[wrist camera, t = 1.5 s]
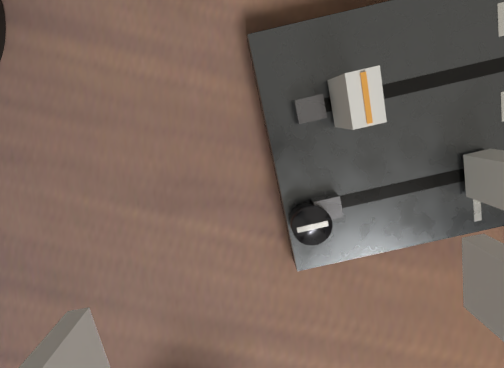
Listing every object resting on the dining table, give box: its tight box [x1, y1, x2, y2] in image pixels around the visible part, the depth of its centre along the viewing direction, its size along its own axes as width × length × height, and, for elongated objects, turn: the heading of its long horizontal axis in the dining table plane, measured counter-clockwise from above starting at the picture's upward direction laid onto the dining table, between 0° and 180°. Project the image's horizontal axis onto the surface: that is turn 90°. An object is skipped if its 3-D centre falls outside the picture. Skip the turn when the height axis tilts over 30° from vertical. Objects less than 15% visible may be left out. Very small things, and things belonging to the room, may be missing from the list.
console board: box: [247, 0, 504, 271], centre depth 28 cm, size 22×30×4 cm
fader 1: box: [327, 65, 387, 130], centre depth 24 cm, size 4×2×5 cm, turn 13°
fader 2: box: [463, 149, 504, 210], centre depth 26 cm, size 4×2×5 cm, turn 13°
